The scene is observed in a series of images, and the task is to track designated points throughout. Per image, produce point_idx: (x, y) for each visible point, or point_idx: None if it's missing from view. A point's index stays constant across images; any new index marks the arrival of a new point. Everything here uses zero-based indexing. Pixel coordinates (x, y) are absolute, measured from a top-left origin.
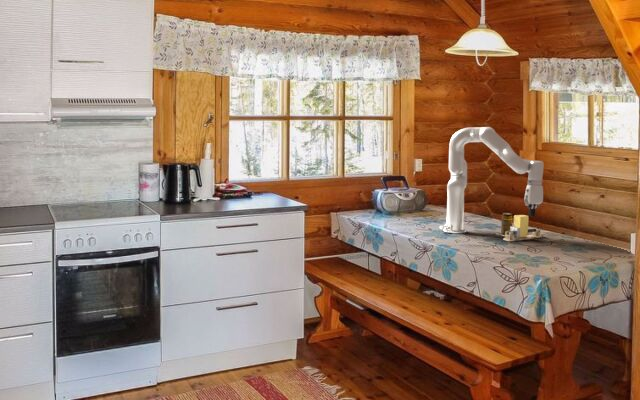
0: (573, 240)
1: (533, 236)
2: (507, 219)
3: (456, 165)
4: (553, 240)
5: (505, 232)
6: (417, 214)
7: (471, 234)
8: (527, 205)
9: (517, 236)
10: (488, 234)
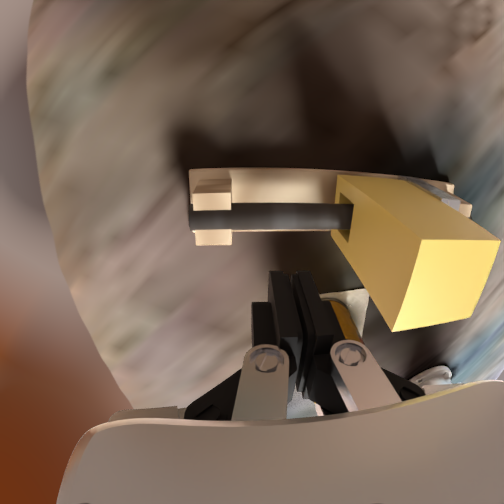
0: (76, 32)
1: (260, 184)
2: None
3: None
4: (190, 61)
5: None
6: None
7: (429, 349)
8: (449, 388)
9: (422, 181)
10: (388, 337)
